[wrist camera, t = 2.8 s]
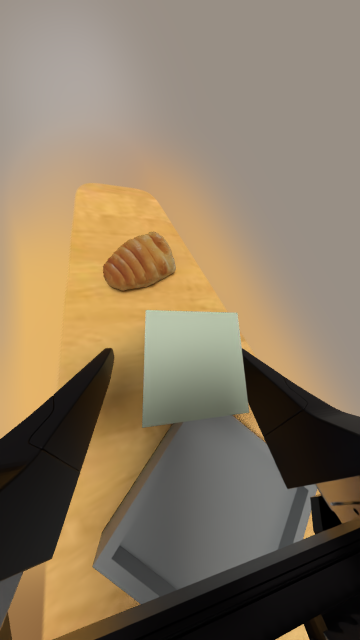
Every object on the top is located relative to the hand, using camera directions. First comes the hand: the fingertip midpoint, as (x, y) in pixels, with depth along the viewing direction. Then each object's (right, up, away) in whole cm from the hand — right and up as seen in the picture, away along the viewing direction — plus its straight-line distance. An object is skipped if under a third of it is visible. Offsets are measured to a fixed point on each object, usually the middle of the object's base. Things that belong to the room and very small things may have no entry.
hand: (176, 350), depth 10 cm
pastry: (-5, +10, +9) cm, 15 cm away
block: (-1, -2, +7) cm, 8 cm away
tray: (+5, -18, +5) cm, 19 cm away
